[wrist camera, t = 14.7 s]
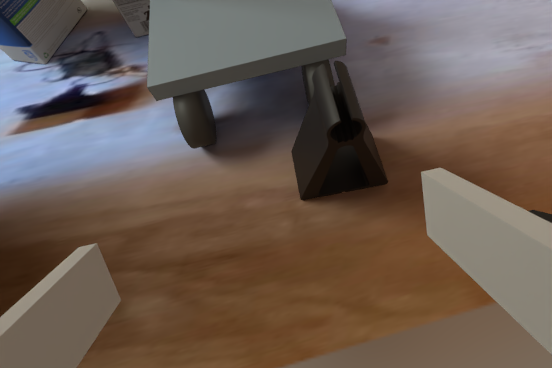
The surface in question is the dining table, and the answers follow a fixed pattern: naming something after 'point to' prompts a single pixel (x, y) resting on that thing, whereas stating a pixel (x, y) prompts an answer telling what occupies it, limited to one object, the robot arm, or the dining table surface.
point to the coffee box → (135, 15)
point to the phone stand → (335, 141)
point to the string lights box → (36, 27)
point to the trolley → (233, 50)
